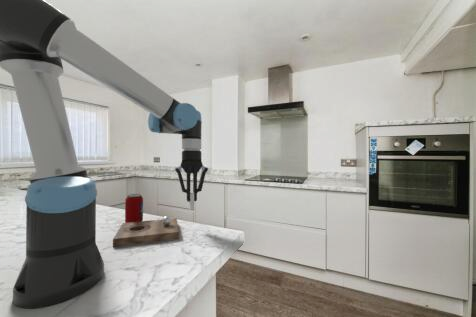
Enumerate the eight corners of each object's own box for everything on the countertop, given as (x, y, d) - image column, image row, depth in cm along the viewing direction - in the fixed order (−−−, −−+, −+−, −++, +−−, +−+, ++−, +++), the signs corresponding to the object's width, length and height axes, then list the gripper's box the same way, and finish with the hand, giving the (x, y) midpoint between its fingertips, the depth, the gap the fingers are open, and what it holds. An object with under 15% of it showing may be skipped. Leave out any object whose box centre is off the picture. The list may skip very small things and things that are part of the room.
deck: (176, 224, 85) (176, 218, 85) (178, 238, 70) (178, 231, 70) (122, 229, 78) (122, 222, 78) (112, 246, 63) (112, 239, 63)
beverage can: (146, 222, 86) (146, 194, 86) (130, 226, 81) (130, 197, 81) (137, 219, 90) (137, 193, 90) (121, 223, 84) (122, 195, 84)
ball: (171, 226, 75) (171, 217, 75) (161, 227, 73) (161, 218, 73) (171, 223, 78) (171, 214, 78) (161, 224, 77) (161, 215, 77)
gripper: (206, 150, 84) (206, 205, 85) (174, 150, 80) (174, 208, 80) (210, 150, 77) (210, 210, 78) (174, 149, 73) (175, 213, 73)
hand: (191, 209), depth 79 cm, fingers closed
